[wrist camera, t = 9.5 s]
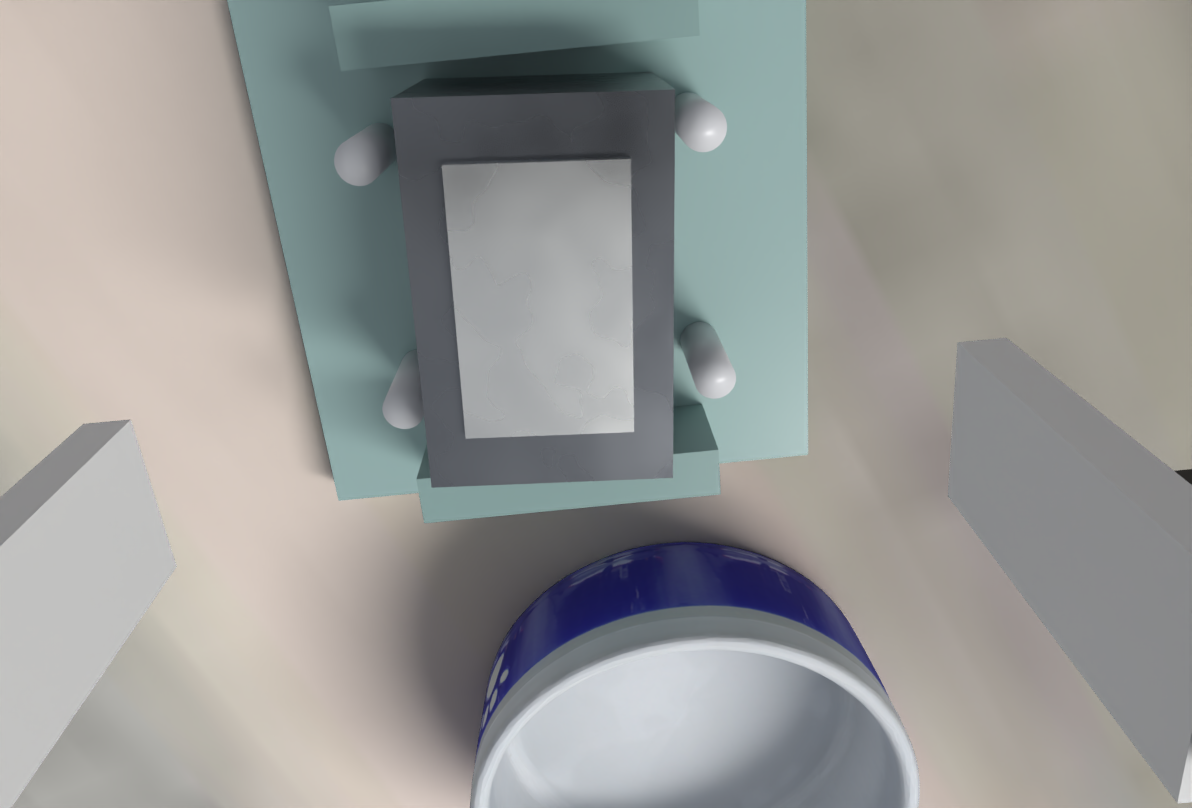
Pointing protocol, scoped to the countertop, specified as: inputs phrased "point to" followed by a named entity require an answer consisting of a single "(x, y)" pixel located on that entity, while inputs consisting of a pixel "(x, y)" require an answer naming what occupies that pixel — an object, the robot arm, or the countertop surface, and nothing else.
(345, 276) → the pin tray
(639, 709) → the dog bowl
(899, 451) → the countertop surface
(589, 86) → the block
